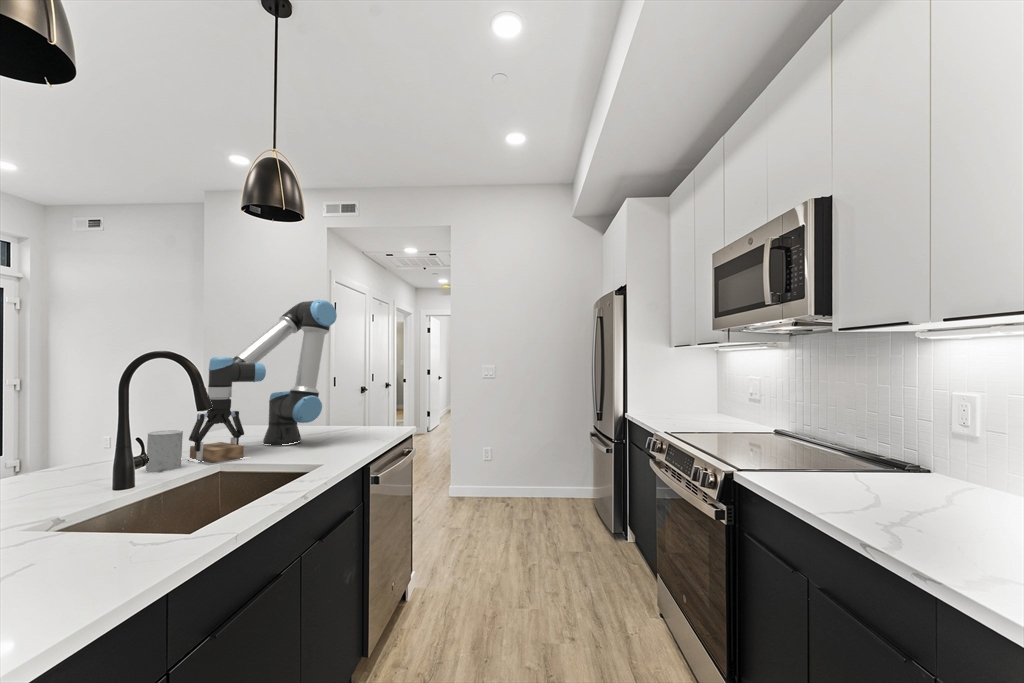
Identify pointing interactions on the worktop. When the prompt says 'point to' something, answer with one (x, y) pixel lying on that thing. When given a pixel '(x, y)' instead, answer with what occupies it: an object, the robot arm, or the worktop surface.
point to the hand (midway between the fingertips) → (216, 457)
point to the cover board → (219, 452)
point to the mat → (217, 462)
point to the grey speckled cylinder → (164, 450)
